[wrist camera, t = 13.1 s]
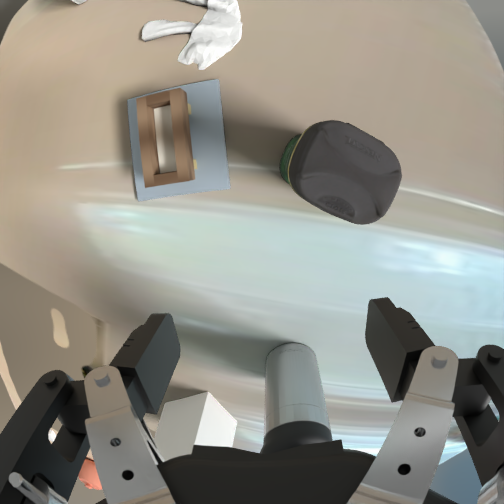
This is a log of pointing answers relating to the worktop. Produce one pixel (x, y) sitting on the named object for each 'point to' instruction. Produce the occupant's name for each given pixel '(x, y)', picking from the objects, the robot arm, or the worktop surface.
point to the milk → (193, 425)
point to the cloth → (202, 32)
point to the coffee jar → (342, 171)
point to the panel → (202, 139)
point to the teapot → (90, 475)
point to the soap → (51, 435)
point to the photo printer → (79, 1)
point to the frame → (165, 138)
